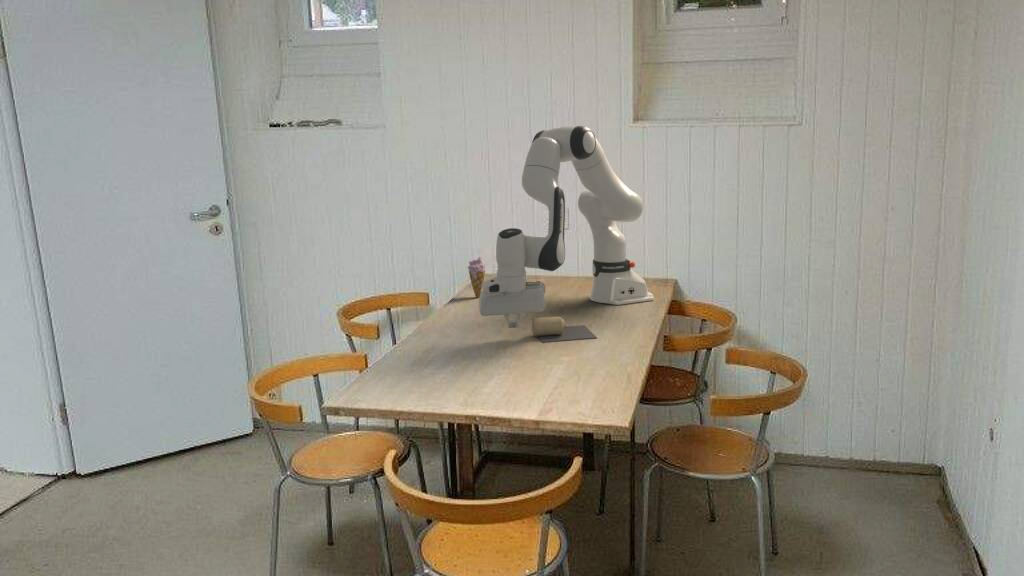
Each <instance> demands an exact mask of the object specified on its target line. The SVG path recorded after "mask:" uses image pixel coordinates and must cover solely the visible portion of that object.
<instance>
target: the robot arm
mask: <svg viewBox="0 0 1024 576" xmlns="http://www.w3.org/2000/svg"><path fill="white" fill-rule="evenodd" d="M569 161H570V162H571V163H572V165H573V167H574V169H575V172H576V174H577V176H578V178H579V180H580V183H581V185H583V187H584V188H585V189H584V190H582V192H581V193H580V194H579V197H578V199H577V205H578V210H579V212H580V213H581V214H582V216H584V218H585V219H586V221H587V222H588V225H589V227H590V230H591V235H592V240H593V259H592V266H591V267H592V269H591V270H592V286H591V291H590V296H589V300H590V301H593V302H594V303H595V302H596V303H599V304H608V305H615V306H620V305H626V304H628V305H629V304H634V303H644V302H648V301H649V302H651V301H653V300H654V299H655V296H654V294H653V293H651V292H650V291H648V286H647V283H646V281H645V279H644V278H643V277H641V276H640V275H638V274H637V273H636V272H635V271H633V270H632V269H633V268H635V267H636V263H635V262H634V261H631V260H629V259H626V252H627V251H626V249H627V248H626V246H627V243H626V241H627V240H626V237H625V235H624V234H623V232H622V231H620V229H619V227H618V226H617V223H629V222H630V223H631V222H635V221H638V219H639V218H640V217H641V216H642V214H643V210H644V209H643V208H644V204H643V199H642V198H641V196H640V195H639V194H638V193H636V192H634V191H633V190H631V189H630V188H629V187H628V186H627V185H626V184H624V182H623V181H622V180H621V179H620V178H619V177H618V175H617V174H616V173H615V171H614V169H613V168H612V166H611V164H610V163H609V160H608V158H607V156H606V153H605V152H604V149H603V147H602V146H601V144H600V142H599V140H598V139H597V137H596V135H595V133H594V132H593V131H592V130H591V128H589V127H586V126H583V125H578V126H577V125H576V126H560V127H555V128H551V129H543V130H540V131H538V132H537V133H536V134H535V135H534V137H533V139H532V142H531V145H530V147H529V150H528V151H527V155H526V159H525V162H524V166H523V171H522V175H521V186H522V189H523V190H524V192H525V193H526V194H527V195H528V196H529V197H531V198H532V199H533V200H535V201H537V202H539V203H541V204H543V205H545V206H546V207H547V209H548V228H547V230H548V231H547V235H546V236H545V237H542V236H531V235H525V234H524V232H523V231H522V229H519V228H513V227H511V228H506V229H503V230H501V231H500V232H499V233H498V234H497V237H496V244H495V245H496V248H495V261H496V263H497V271H496V276H495V277H491V278H489V279H487V280H484V281H483V283H482V290H481V294H480V298H478V312H479V314H480V315H481V316H482V317H490V316H501V315H502V316H503V317H504V319H505V320H506V322H507V328H508V329H514V328H519V321H520V320H521V318H522V314H526V313H541V312H544V311H545V309H546V308H547V307H546V305H547V304H546V298H545V293H546V285H545V284H544V283H543V282H541V281H539V280H537V281H527V271H526V268H528V269H538V270H544V271H549V272H554V271H556V270H557V269H559V268H560V267H561V266H562V265H563V264H564V263H565V261H566V245H565V228H566V227H565V224H566V223H565V220H566V200H565V194H564V191H563V189H562V188H560V185H559V181H558V180H559V174H560V170H561V169H560V168H561V163H566V162H569ZM631 268H632V269H631ZM510 315H515V316H516V318H515V319H514V320H510V319H509V318H510Z"/></svg>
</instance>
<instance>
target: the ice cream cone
mask: <svg viewBox="0 0 1024 576" xmlns="http://www.w3.org/2000/svg"><path fill="white" fill-rule="evenodd" d="M468 263H469V266H467V269H468V274H469V280H470V282H471V286H472V289H473V292H474V295H475V299H479V298H480V294H481V292H482V291H483V288H482V283H483V282H484V281H485V275H486V269H485V268H486V267H485V266H486V263H485V262H484V261H483V258H482V257H481V256H479V257H478V258H477V259H473V260H469V262H468Z"/></svg>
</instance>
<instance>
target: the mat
mask: <svg viewBox="0 0 1024 576" xmlns="http://www.w3.org/2000/svg"><path fill="white" fill-rule="evenodd" d="M536 337H537V338H538V340H540V342H541V343H543V344H544V343H555V342H557V343H558V342H567V341H577V340H578V341H580V340H581V341H582V340H591V339H593V340H594V339H598V336H596V335H595V334H594V333H593V332H592V331H591V330H590V329H589V328H588V327H587V326H586V325H582V324H581V325H568V326H567V325H566V327H565V329H564V331H563V333H562V334H560V335H545V336H536Z"/></svg>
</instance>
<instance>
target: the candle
mask: <svg viewBox="0 0 1024 576" xmlns="http://www.w3.org/2000/svg"><path fill="white" fill-rule="evenodd" d="M565 327H567V324H566V322H565V319H564V318H562V317H561V316H545V317H533V318H532V319H531V332H532V336H533V337H537V336H545V335H560V334H562V333H563V331H564V329H565Z"/></svg>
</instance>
